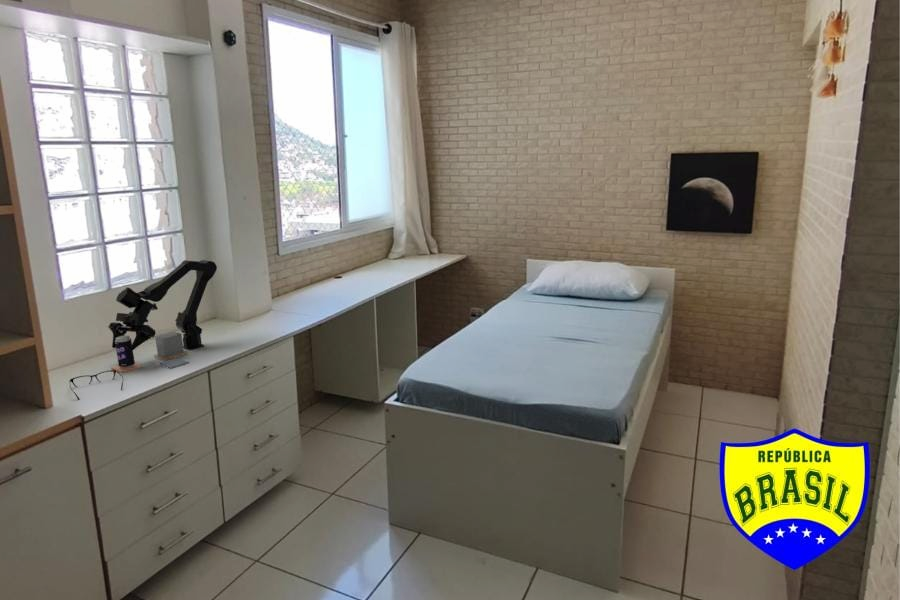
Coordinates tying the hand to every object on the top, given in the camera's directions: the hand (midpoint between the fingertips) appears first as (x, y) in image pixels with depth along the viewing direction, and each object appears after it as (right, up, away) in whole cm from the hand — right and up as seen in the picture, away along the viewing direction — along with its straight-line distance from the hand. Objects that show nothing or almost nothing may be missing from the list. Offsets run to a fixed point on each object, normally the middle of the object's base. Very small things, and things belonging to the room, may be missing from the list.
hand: (122, 348), depth 237 cm
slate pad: (+18, -7, +6) cm, 20 cm away
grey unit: (+12, -4, +16) cm, 20 cm away
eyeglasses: (+1, -14, -18) cm, 23 cm away
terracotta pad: (0, -8, +3) cm, 8 cm away
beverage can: (+1, -7, +3) cm, 8 cm away
